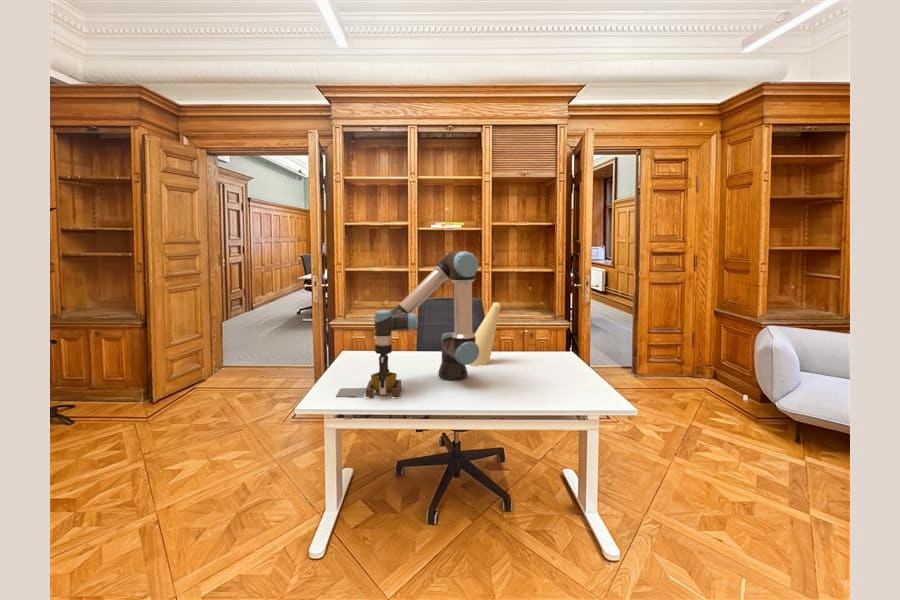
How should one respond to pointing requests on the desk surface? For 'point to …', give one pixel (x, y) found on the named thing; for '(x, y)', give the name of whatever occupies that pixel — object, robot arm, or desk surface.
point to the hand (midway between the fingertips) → (384, 390)
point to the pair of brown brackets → (395, 390)
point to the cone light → (486, 335)
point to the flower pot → (389, 379)
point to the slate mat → (351, 392)
